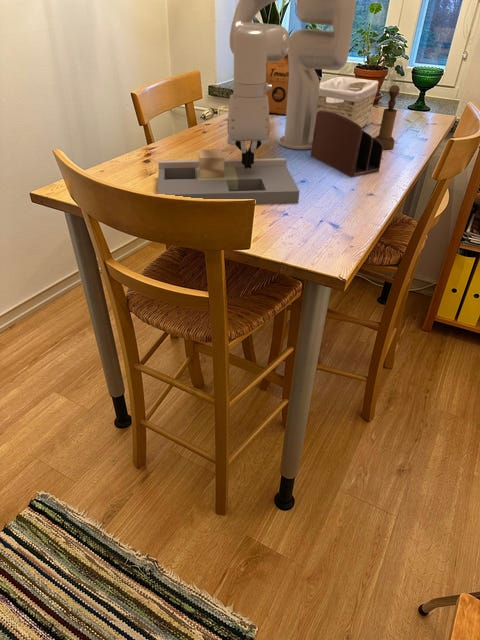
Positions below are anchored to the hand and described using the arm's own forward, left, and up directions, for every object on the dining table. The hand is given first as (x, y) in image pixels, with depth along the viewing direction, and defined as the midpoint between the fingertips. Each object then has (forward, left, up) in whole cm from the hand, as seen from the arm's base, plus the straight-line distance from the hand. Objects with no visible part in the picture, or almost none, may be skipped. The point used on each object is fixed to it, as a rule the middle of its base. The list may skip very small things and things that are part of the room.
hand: (247, 166), depth 120 cm
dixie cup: (-48, -68, -5) cm, 83 cm away
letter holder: (-30, -13, -5) cm, 33 cm away
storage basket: (-40, -49, -5) cm, 64 cm away
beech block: (+9, +1, -1) cm, 10 cm away
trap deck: (+6, +4, -4) cm, 9 cm away
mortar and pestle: (-48, -28, -5) cm, 56 cm away
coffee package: (-22, -71, -5) cm, 74 cm away
